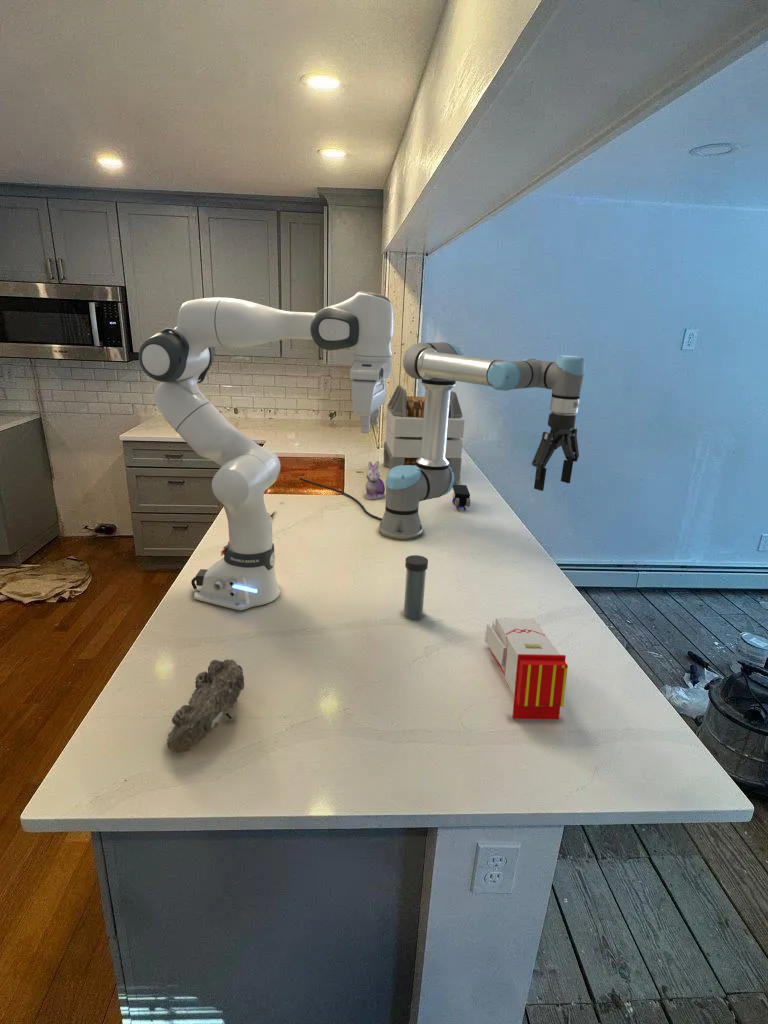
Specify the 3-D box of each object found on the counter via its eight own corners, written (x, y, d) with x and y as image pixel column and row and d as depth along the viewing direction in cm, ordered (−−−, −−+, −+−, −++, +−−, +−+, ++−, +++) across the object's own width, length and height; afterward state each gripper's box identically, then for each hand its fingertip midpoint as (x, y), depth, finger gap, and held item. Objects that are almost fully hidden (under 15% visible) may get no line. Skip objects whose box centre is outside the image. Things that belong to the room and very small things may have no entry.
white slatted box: (382, 463, 289) (386, 382, 275) (445, 464, 293) (451, 384, 279) (390, 482, 257) (394, 392, 243) (460, 483, 261) (468, 394, 247)
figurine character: (470, 515, 225) (465, 499, 238) (472, 498, 221) (467, 483, 235) (453, 515, 224) (449, 499, 238) (455, 497, 221) (451, 482, 234)
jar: (410, 621, 144) (414, 567, 139) (399, 612, 148) (402, 559, 143) (426, 616, 147) (430, 563, 142) (415, 608, 151) (418, 555, 146)
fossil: (192, 660, 117) (244, 628, 112) (224, 691, 120) (276, 661, 115) (142, 746, 98) (202, 712, 93) (182, 779, 101) (242, 748, 96)
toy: (531, 603, 136) (576, 661, 106) (526, 655, 139) (569, 725, 109) (481, 602, 135) (512, 660, 106) (477, 654, 138) (507, 724, 109)
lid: (413, 573, 139) (414, 566, 139) (400, 564, 144) (401, 557, 143) (432, 568, 142) (432, 561, 142) (418, 560, 147) (419, 553, 146)
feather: (282, 505, 226) (285, 501, 225) (264, 529, 199) (267, 524, 198) (279, 503, 225) (281, 499, 225) (260, 526, 199) (263, 522, 198)
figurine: (370, 501, 232) (371, 465, 226) (359, 493, 240) (360, 459, 235) (390, 498, 236) (392, 463, 231) (379, 491, 244) (380, 457, 239)
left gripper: (367, 363, 139) (365, 419, 143) (347, 371, 120) (346, 436, 124) (392, 365, 138) (390, 421, 142) (377, 373, 119) (374, 438, 123)
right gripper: (548, 419, 148) (537, 496, 155) (598, 411, 163) (586, 482, 171) (525, 414, 153) (515, 489, 160) (575, 407, 169) (564, 476, 176)
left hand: (369, 428), depth 133 cm, fingers open, 8 cm apart
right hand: (552, 485), depth 166 cm, fingers open, 13 cm apart
